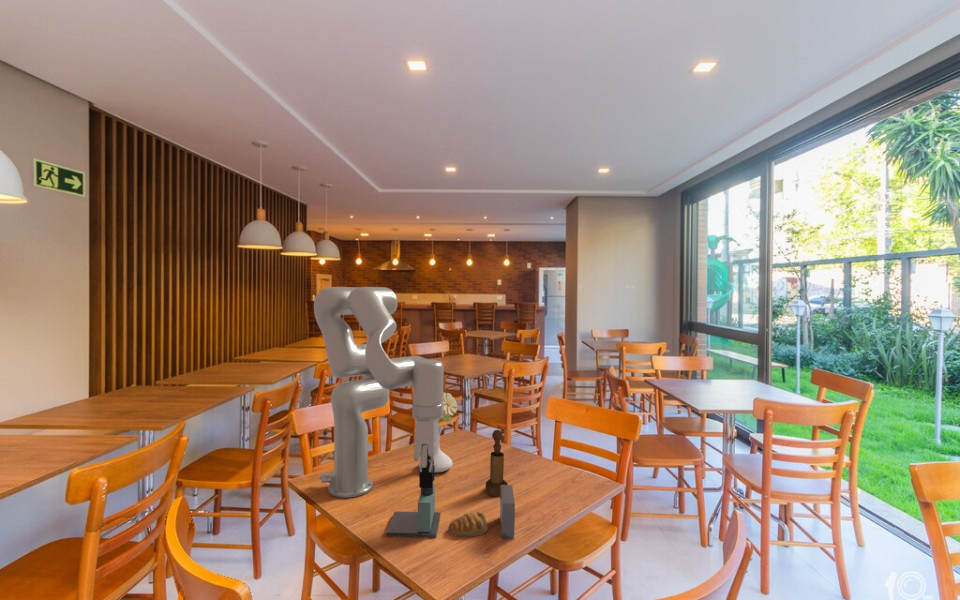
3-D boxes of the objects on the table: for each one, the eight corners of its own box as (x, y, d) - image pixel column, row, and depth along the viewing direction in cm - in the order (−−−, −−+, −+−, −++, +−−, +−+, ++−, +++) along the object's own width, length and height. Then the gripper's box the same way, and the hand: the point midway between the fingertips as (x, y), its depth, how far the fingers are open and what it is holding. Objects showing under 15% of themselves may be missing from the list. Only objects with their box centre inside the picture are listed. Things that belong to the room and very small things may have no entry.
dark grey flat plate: (385, 536, 104) (385, 532, 104) (394, 515, 114) (394, 511, 114) (436, 537, 104) (436, 533, 104) (440, 516, 114) (440, 512, 114)
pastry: (453, 542, 102) (453, 526, 102) (444, 528, 109) (444, 512, 109) (490, 534, 106) (490, 518, 106) (479, 521, 112) (479, 506, 112)
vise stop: (501, 538, 104) (502, 503, 104) (500, 517, 114) (500, 484, 114) (514, 539, 104) (514, 503, 104) (511, 517, 114) (512, 485, 114)
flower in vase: (425, 478, 137) (427, 399, 136) (412, 465, 147) (413, 391, 146) (463, 471, 143) (464, 394, 143) (448, 459, 153) (449, 388, 153)
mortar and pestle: (505, 497, 125) (506, 434, 125) (483, 495, 126) (484, 433, 126) (508, 487, 131) (509, 427, 131) (487, 485, 133) (488, 426, 132)
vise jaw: (417, 531, 104) (418, 464, 104) (423, 510, 114) (424, 449, 114) (430, 532, 104) (430, 465, 104) (434, 511, 114) (435, 450, 114)
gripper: (417, 402, 117) (416, 470, 117) (407, 419, 100) (406, 499, 101) (445, 402, 117) (445, 471, 117) (439, 420, 100) (438, 500, 101)
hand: (427, 483), depth 109 cm, fingers closed on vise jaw, 3 cm apart
